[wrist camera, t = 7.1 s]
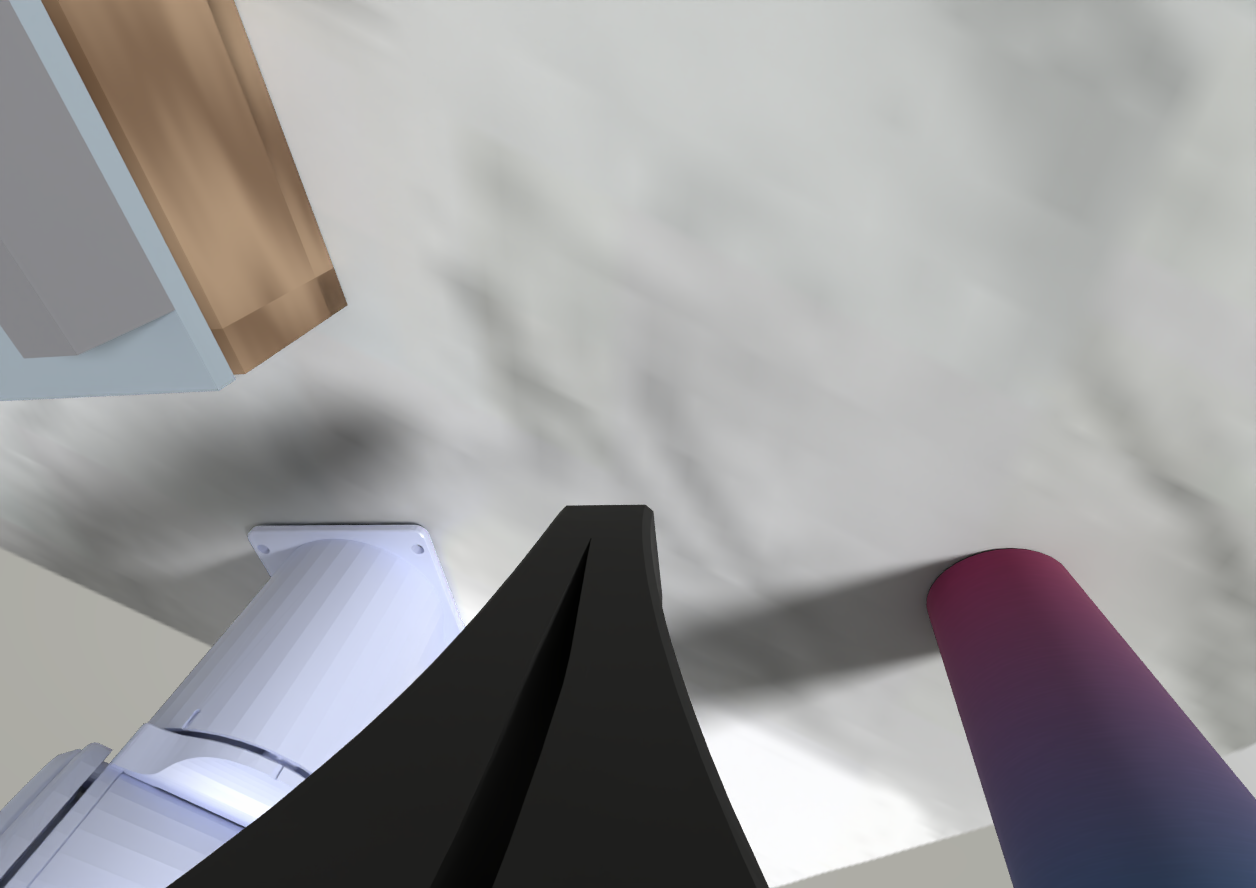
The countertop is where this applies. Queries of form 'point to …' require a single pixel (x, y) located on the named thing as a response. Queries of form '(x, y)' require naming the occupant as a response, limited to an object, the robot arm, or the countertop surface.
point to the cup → (1082, 738)
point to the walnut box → (207, 163)
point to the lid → (82, 244)
